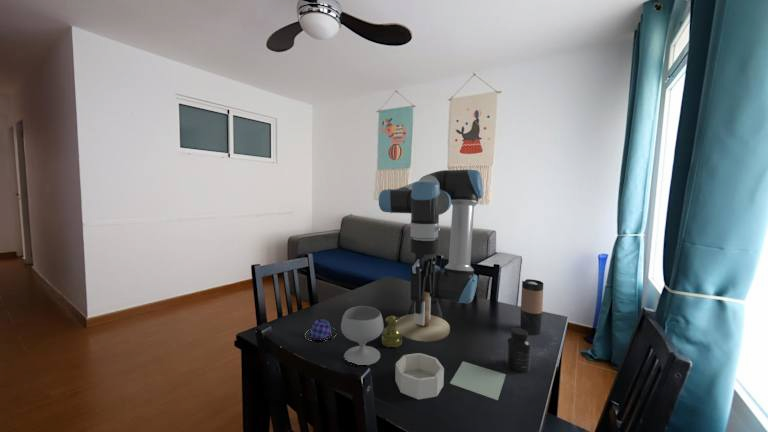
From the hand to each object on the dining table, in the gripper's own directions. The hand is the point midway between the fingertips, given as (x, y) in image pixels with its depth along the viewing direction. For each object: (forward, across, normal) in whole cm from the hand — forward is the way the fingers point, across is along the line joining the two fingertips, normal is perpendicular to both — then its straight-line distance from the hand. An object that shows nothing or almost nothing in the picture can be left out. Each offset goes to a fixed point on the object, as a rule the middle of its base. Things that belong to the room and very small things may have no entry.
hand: (422, 320), depth 83 cm
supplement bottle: (+19, +24, -23) cm, 38 cm away
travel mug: (+19, +54, -24) cm, 62 cm away
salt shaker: (+19, +16, +18) cm, 31 cm away
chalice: (+19, +3, +22) cm, 29 cm away
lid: (+2, 0, 0) cm, 2 cm away
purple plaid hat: (+19, +7, +44) cm, 49 cm away
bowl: (+19, 0, 0) cm, 19 cm away
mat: (+19, +11, -14) cm, 25 cm away
